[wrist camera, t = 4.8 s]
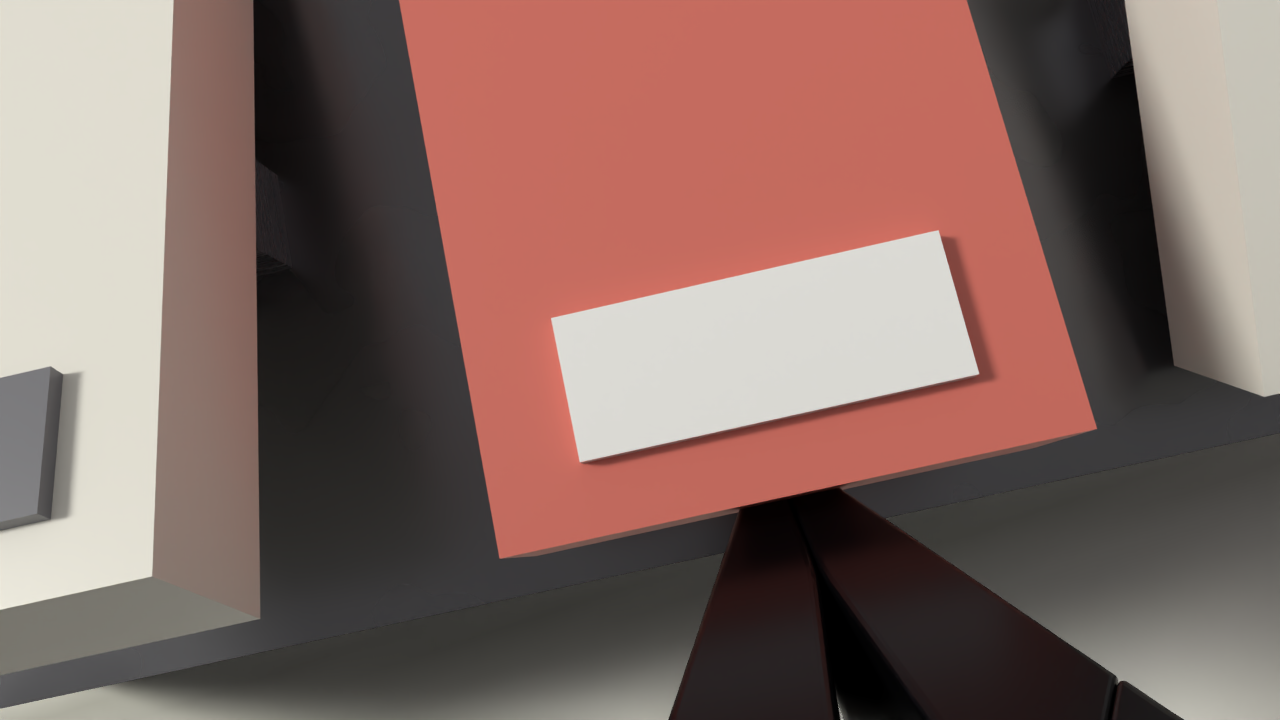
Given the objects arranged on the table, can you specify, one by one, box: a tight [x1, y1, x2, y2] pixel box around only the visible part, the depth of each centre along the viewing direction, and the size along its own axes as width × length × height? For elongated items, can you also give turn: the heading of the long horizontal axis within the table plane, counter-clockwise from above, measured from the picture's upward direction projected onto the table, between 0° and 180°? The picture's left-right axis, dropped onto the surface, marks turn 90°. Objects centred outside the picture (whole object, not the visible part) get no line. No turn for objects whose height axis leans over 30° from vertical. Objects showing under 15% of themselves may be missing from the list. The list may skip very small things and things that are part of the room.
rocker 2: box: [399, 0, 1097, 559], centre depth 9 cm, size 9×5×2 cm, turn 13°
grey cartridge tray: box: [0, 0, 1280, 708], centre depth 14 cm, size 10×26×6 cm, turn 102°
